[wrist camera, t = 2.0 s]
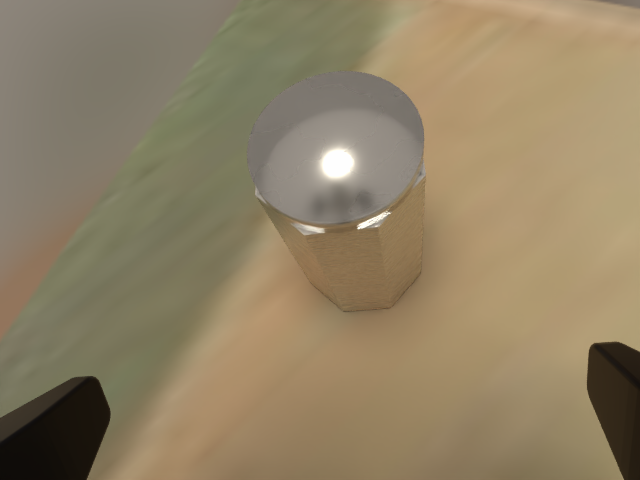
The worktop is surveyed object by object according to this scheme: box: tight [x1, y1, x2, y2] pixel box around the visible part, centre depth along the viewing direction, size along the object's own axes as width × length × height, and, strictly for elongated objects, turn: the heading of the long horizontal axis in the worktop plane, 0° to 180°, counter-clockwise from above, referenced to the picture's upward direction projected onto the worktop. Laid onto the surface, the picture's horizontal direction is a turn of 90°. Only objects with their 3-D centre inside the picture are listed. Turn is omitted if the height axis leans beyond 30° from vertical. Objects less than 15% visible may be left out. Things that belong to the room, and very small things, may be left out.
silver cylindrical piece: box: [247, 71, 426, 312], centre depth 19 cm, size 6×6×10 cm
